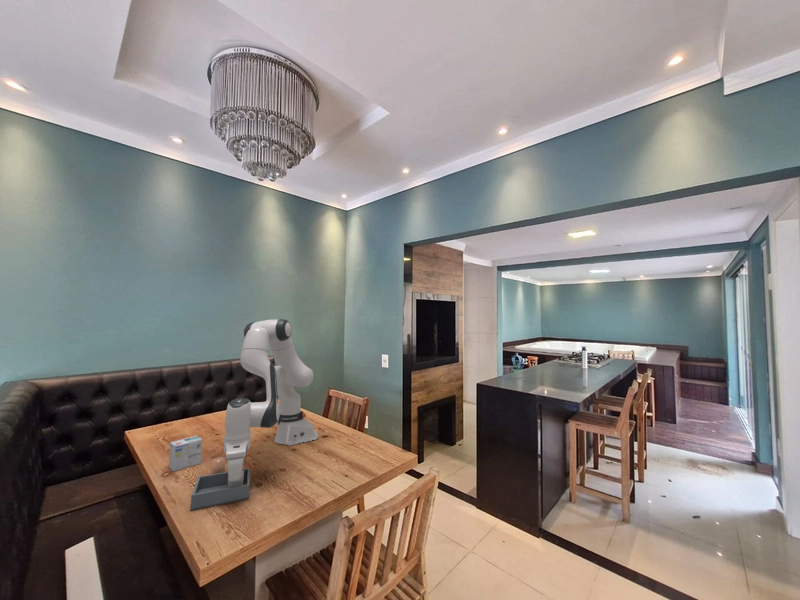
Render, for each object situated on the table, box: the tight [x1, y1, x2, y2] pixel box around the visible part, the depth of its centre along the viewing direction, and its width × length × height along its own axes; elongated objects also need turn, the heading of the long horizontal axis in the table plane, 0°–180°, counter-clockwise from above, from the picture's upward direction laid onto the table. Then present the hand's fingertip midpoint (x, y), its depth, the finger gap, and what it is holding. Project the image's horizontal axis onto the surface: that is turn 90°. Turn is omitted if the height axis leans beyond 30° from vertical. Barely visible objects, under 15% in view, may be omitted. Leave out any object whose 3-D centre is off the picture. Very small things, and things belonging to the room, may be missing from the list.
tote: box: [190, 467, 251, 512], centre depth 114 cm, size 18×14×5 cm
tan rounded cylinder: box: [210, 456, 227, 475], centre depth 127 cm, size 5×5×7 cm
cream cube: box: [228, 470, 244, 488], centre depth 116 cm, size 5×5×5 cm
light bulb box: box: [168, 435, 203, 473], centre depth 137 cm, size 11×7×11 cm, turn 141°
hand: (235, 482), depth 116 cm, fingers open, 5 cm apart
